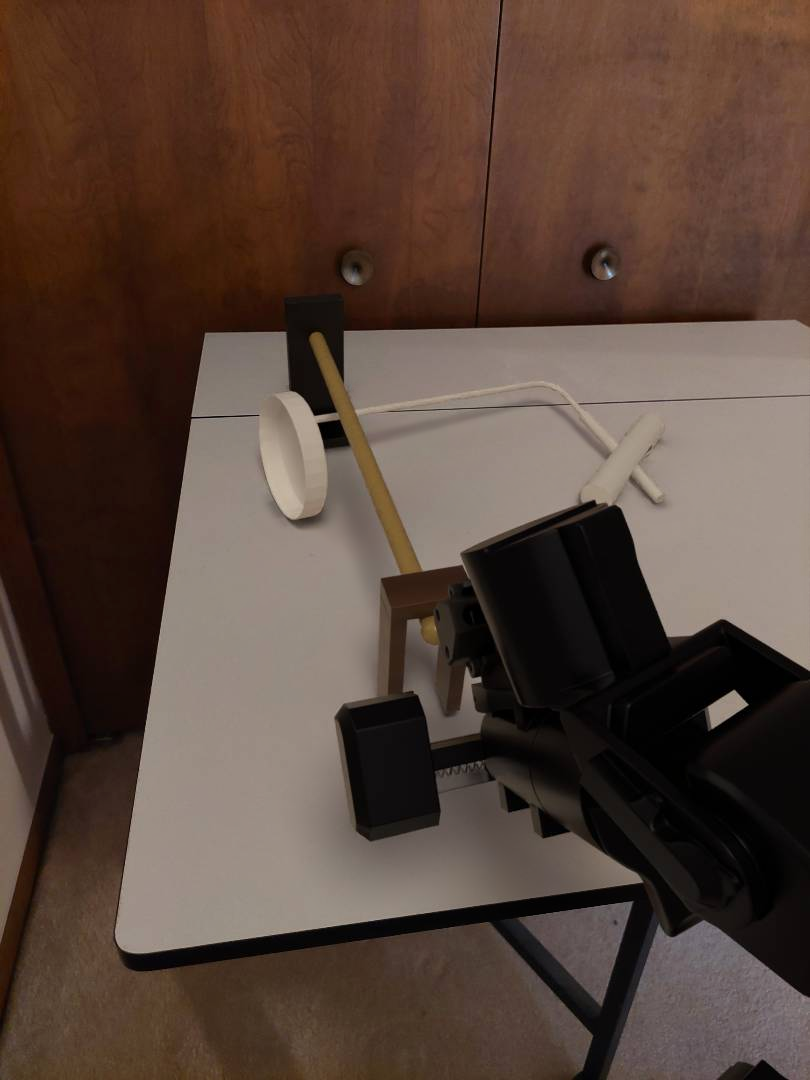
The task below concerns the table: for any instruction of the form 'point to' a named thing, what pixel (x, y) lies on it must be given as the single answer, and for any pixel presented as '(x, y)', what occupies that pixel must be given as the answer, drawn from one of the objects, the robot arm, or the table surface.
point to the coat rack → (341, 411)
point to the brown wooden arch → (398, 605)
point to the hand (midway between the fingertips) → (476, 710)
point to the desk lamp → (298, 442)
